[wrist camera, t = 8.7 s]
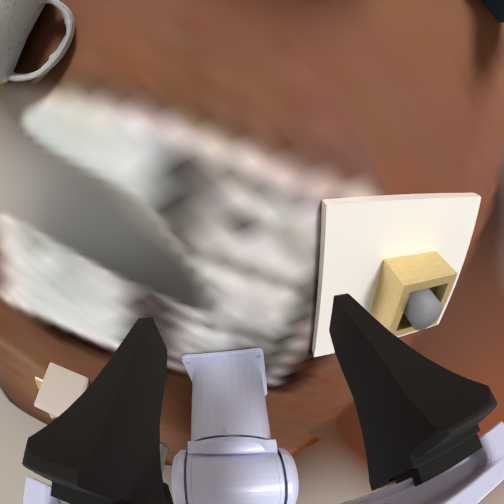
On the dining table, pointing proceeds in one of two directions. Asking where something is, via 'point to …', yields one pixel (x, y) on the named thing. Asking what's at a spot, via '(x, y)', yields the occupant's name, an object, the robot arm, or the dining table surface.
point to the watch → (495, 8)
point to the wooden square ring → (409, 287)
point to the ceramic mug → (17, 31)
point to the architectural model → (59, 389)
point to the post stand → (387, 249)
